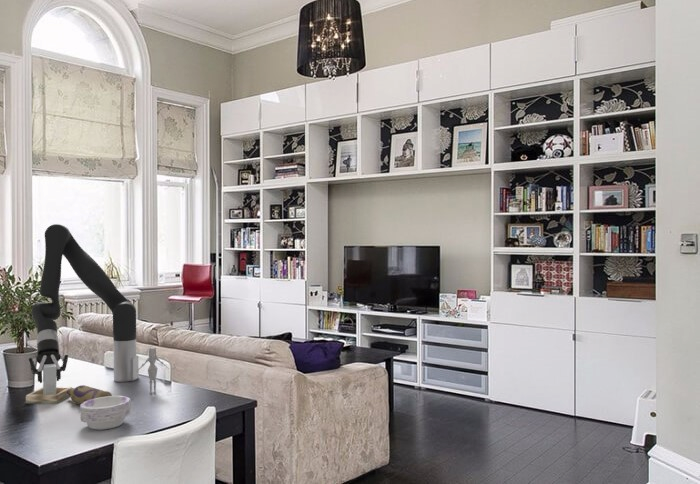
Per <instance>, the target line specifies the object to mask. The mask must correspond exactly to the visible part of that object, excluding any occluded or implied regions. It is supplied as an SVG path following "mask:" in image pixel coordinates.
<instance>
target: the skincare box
mask: <svg viewBox="0 0 700 484" xmlns="http://www.w3.org/2000/svg"><path fill="white" fill-rule="evenodd" d="M42 387H43V395H56V387H57V377H56V365H55V364H45V365H43V371H42Z"/></svg>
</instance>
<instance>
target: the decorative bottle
mask: <svg viewBox="0 0 700 484" xmlns="http://www.w3.org/2000/svg"><path fill="white" fill-rule="evenodd" d="M67 393H68V395H70V396H69V397H70V400H71V401H72V403H75V404H78V405H79V406H80V405H81V404H82V403H83V402H85V401H88V400H91V399H95V398H100V397H106V396H113V394H112V393H111V392H109V391H107V390H103V389H99V388H95V387H91V386H87V385H84V384H83V385H78V386H76V387H72V388H70V389H68V391H67Z"/></svg>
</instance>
